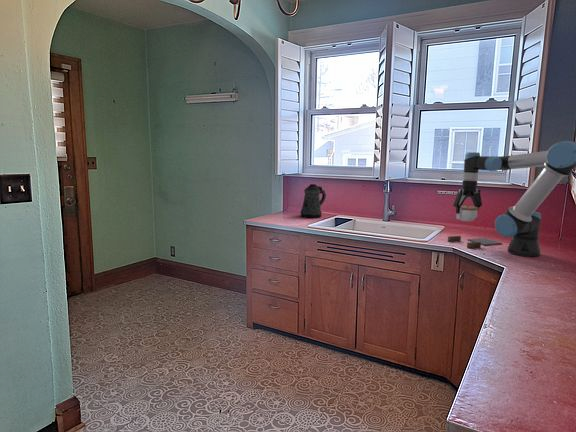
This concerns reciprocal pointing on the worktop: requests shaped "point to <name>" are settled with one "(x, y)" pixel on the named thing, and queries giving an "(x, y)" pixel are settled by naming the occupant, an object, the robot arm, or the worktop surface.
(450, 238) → the pot cradle
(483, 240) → the rubber mat
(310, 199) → the dark grey tall jug
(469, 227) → the worktop surface
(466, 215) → the lidded jar
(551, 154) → the robot arm
